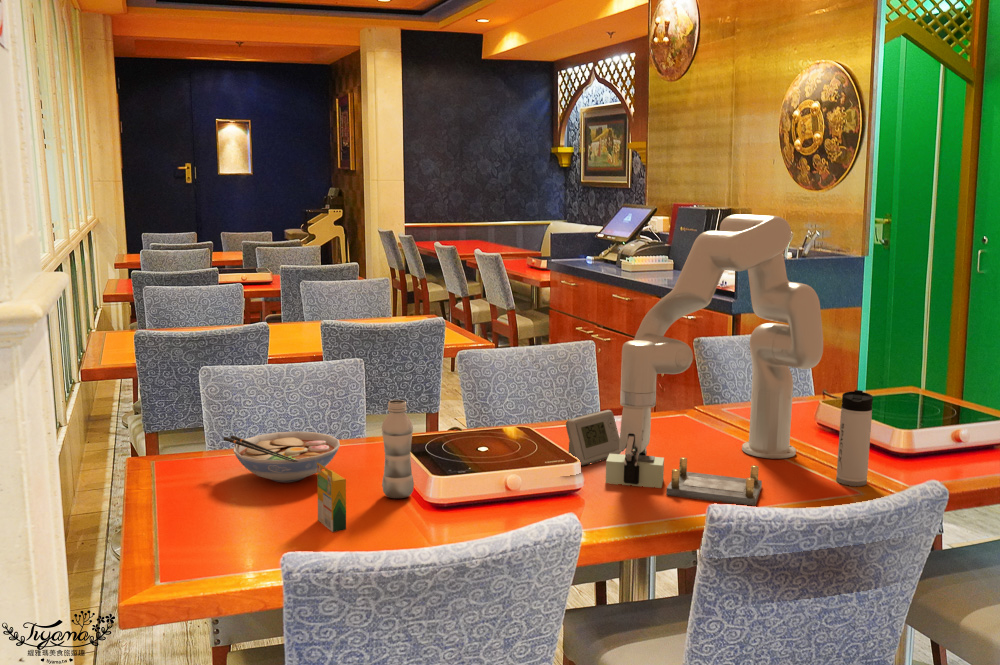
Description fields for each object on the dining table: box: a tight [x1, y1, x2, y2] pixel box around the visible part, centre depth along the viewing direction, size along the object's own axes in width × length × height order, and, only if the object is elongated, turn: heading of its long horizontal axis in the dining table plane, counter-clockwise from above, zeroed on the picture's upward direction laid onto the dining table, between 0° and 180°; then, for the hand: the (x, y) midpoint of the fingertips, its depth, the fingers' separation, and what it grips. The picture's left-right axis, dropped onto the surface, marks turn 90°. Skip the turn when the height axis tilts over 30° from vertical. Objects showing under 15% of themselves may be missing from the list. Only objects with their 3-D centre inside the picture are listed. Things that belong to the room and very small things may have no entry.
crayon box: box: [316, 462, 347, 533], centre depth 171 cm, size 7×3×12 cm, turn 33°
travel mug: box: [836, 389, 874, 487], centre depth 198 cm, size 6×7×20 cm
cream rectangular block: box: [605, 453, 665, 489], centre depth 199 cm, size 6×12×6 cm, turn 77°
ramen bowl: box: [223, 431, 341, 483], centre depth 199 cm, size 25×23×8 cm
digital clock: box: [565, 409, 622, 467], centre depth 215 cm, size 16×9×11 cm, turn 123°
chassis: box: [665, 457, 763, 507], centre depth 193 cm, size 13×18×5 cm
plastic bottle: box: [381, 399, 415, 499], centre depth 186 cm, size 6×7×20 cm
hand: (635, 477), depth 199 cm, fingers closed on cream rectangular block, 6 cm apart
